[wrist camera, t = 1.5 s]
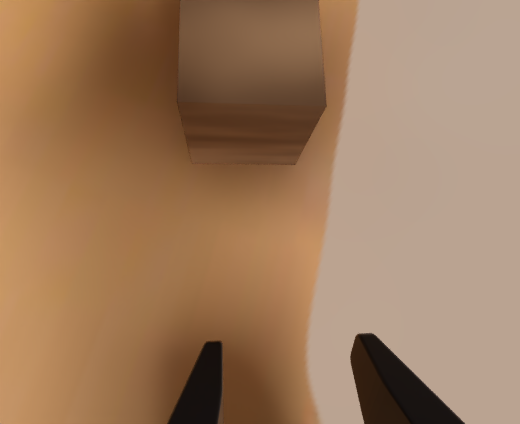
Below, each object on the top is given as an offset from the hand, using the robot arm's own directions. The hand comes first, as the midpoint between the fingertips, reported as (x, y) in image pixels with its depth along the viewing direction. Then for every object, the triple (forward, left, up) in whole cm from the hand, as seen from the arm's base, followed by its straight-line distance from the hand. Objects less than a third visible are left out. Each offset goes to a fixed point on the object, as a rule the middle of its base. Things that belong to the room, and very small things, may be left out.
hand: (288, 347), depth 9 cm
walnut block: (+14, -10, -14) cm, 22 cm away
